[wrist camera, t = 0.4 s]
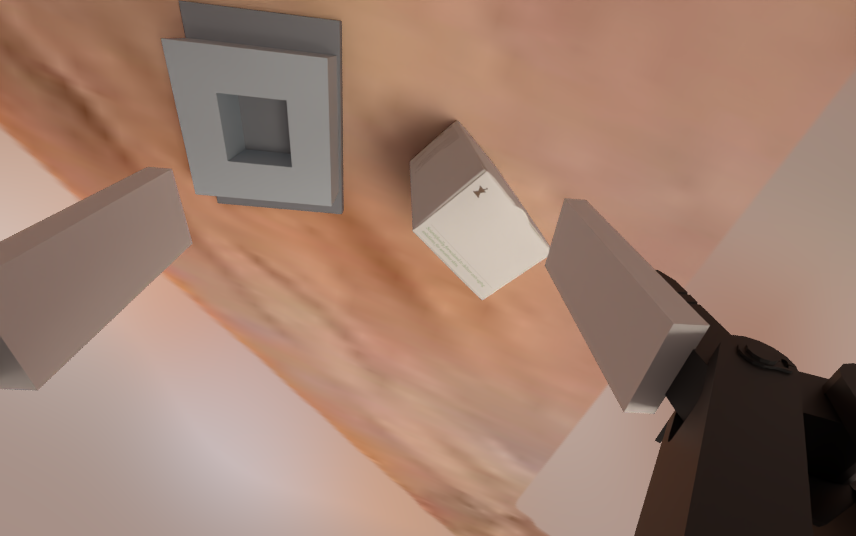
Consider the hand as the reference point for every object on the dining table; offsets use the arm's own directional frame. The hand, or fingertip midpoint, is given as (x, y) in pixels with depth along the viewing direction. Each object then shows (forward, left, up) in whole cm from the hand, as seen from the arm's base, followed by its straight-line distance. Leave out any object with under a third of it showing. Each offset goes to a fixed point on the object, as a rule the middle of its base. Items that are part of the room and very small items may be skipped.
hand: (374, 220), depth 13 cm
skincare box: (+6, +6, -26) cm, 27 cm away
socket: (+3, -12, -26) cm, 28 cm away
